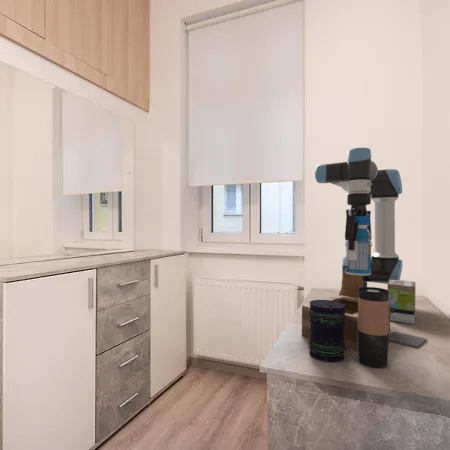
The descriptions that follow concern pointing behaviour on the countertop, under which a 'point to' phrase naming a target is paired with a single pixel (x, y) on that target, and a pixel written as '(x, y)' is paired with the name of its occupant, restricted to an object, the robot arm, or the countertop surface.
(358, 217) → the beverage bottle
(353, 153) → the robot arm
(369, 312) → the travel mug
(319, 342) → the storage jar
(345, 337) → the walnut box
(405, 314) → the tea box
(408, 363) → the countertop surface
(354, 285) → the block
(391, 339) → the charcoal mat
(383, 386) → the countertop surface
